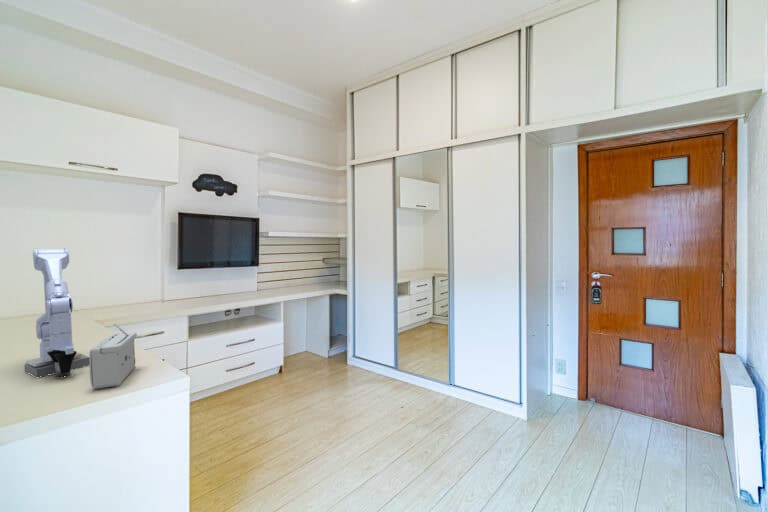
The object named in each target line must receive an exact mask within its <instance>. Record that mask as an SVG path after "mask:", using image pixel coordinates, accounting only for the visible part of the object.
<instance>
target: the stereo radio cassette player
mask: <svg viewBox="0 0 768 512" xmlns="http://www.w3.org/2000/svg"><path fill="white" fill-rule="evenodd" d="M113 326H115V327H116V328H117V329H118V330H119V331H120V333H119V332H118V333H113V334H111V335H109V336H108V337H106V338H105V339H103V340H102V341H101V342H99V343H98V344H96V345H95V346H94V347H92V348H91V349H90V350H89V356H88V357H89V378H90V385H91V387H92V388H94V389H97V390H100V389H103V388H104V389H105V388H111V387H119V386H120V385H121V384H122V383H123V382H124V380H125V379H126V377H128V375H130V373H131V372H132V371H133V370H134V369H135V367H136V352H135V348H136V347H135V339H136V338H137V335H138V334H137V332H135V331H133V332H125V330H123V329H122V328H121V327H119V326H118V325H116V323H114V324H113ZM121 332H122V333H121Z"/></svg>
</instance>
